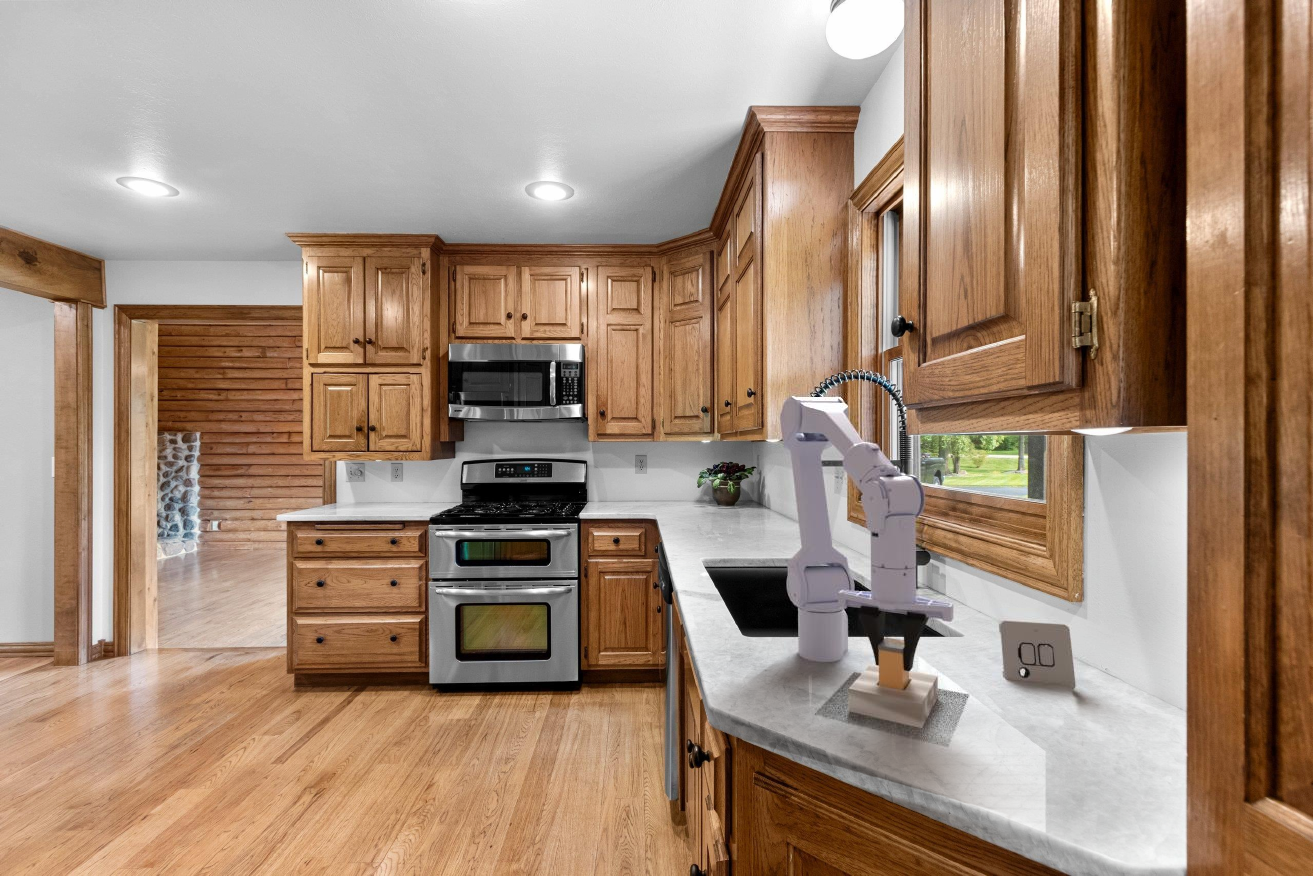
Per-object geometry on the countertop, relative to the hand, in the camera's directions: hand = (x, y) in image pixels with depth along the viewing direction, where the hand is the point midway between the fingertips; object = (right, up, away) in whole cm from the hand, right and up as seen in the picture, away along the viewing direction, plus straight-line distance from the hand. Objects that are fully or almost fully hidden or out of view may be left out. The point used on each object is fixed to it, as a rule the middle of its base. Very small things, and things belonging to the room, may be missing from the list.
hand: (894, 666), depth 85 cm
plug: (0, -4, 0) cm, 4 cm away
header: (0, -6, 0) cm, 6 cm away
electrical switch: (+25, -6, +10) cm, 27 cm away
